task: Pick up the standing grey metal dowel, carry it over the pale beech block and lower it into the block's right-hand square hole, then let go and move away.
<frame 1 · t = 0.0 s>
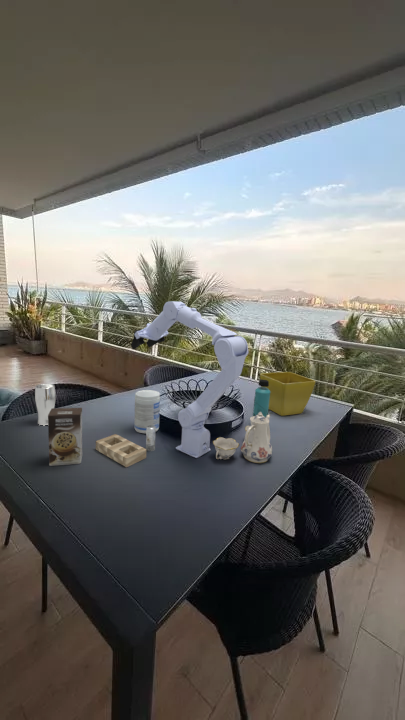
hand: (140, 345, 121), 32 cm above the table, tool tilted 50°, fingers open, 7 cm apart
coffee box: (66, 460, 100), on the table
peg: (150, 449, 110), on the table
hole block: (120, 453, 105), on the table
beer glass: (46, 423, 125), on the table
chinaware: (248, 454, 111), on the table
supplement tub: (146, 429, 125), on the table
beverage bottle: (259, 426, 135), on the table
flower pot: (283, 410, 156), on the table
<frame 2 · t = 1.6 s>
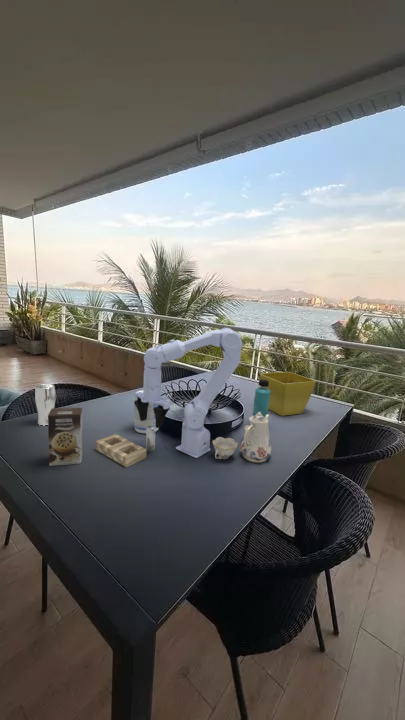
hand: (151, 423, 108), 9 cm above the table, tool pointing down, fingers open, 7 cm apart
nothing on the table moved.
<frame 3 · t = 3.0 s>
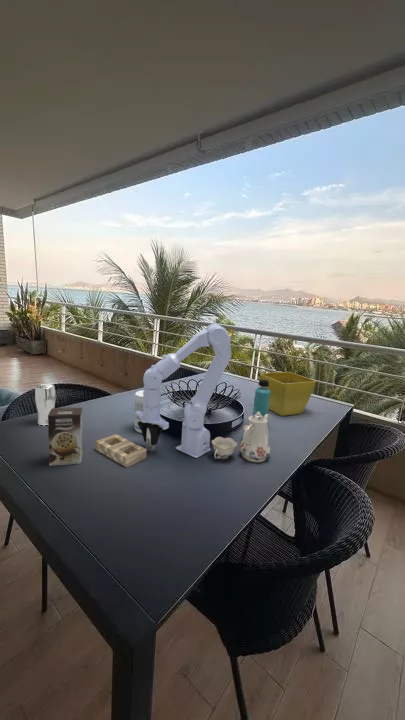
hand: (150, 442, 109), 2 cm above the table, tool pointing down, fingers closed on peg, 3 cm apart
peg: (150, 449, 110), on the table, touching gripper
everything else where it was.
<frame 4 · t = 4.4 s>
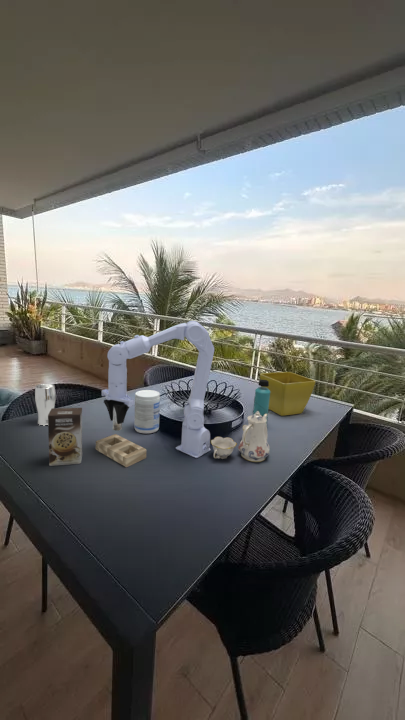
hand: (117, 421, 106), 10 cm above the table, tool pointing down, fingers closed on peg, 3 cm apart
peg: (117, 428, 107), point 7 cm above the table, touching gripper
everything else where it was.
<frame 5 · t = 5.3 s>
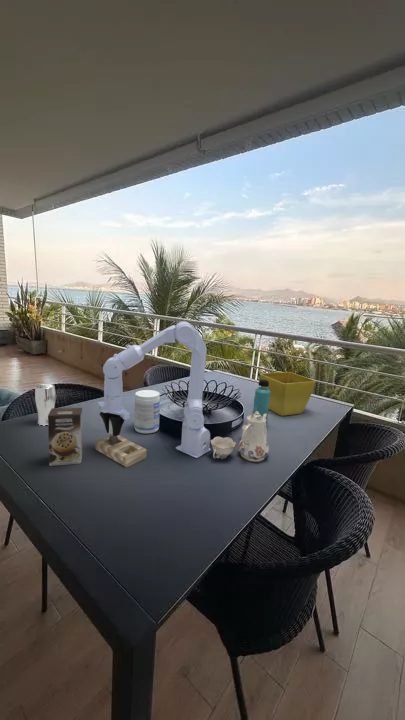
hand: (113, 433, 107), 6 cm above the table, tool pointing down, fingers closed on peg, 3 cm apart
peg: (113, 440, 107), point 3 cm above the table, touching gripper
when the fingers open (4 cm above the table, at t = 6.0 s): peg drops 1 cm, resting in hole block.
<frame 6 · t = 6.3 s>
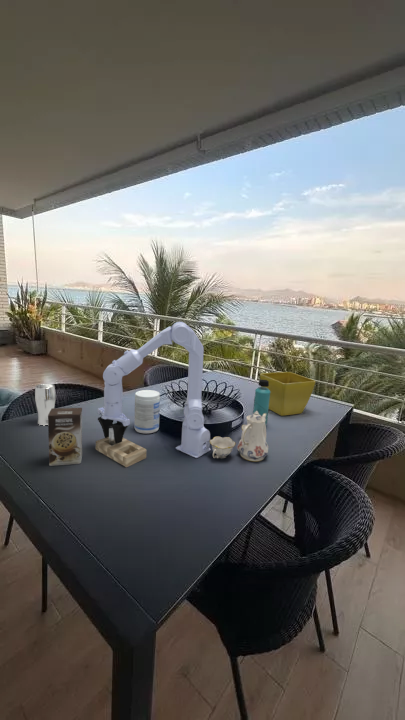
hand: (113, 439, 107), 4 cm above the table, tool pointing down, fingers open, 5 cm apart
peg: (113, 449, 108), resting in hole block
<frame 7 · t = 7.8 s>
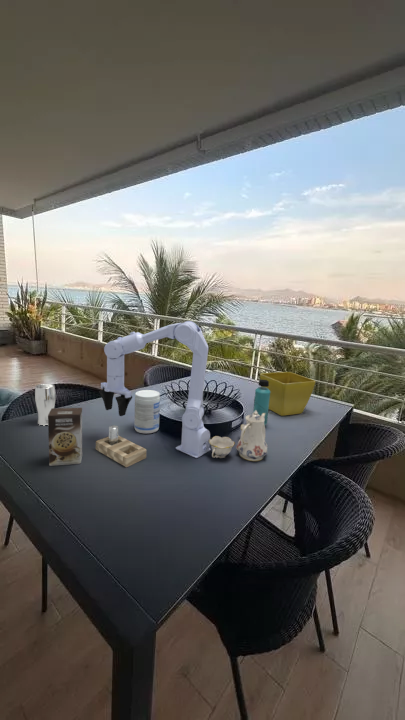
hand: (115, 412, 113), 10 cm above the table, tool pointing down, fingers open, 7 cm apart
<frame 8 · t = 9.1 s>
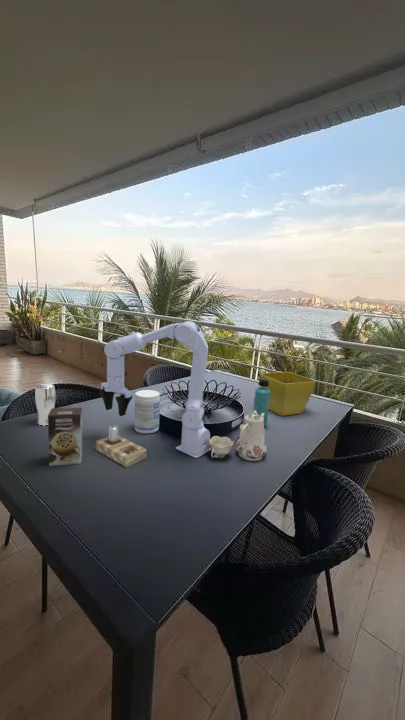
hand: (115, 412, 113), 10 cm above the table, tool pointing down, fingers open, 7 cm apart
at the end: peg 0.2 cm from the target spot on the hole block, point 0.0 cm above the hole block's base; peg tilted 0°; the gripper is holding nothing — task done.
